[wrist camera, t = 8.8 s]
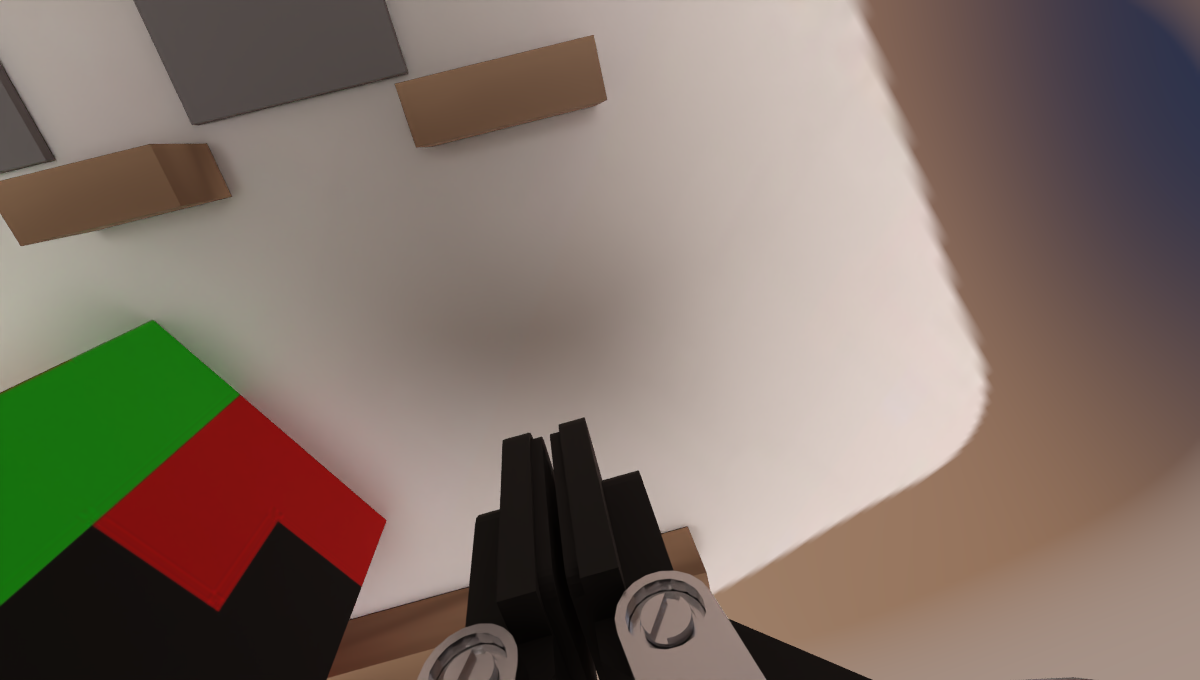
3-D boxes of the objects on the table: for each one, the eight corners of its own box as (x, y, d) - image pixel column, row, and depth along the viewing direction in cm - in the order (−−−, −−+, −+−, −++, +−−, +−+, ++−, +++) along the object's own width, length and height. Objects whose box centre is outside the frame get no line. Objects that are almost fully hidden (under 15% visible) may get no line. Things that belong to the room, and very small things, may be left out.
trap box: (-336, 277, 15) (-619, 322, 11) (584, 50, 16) (600, 22, 12) (64, 730, 22) (-32, 851, 18) (694, 555, 23) (726, 637, 19)
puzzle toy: (194, 660, 22) (-60, 1055, 12) (-61, 499, 18) (-679, 876, 9) (386, 519, 21) (267, 836, 11) (154, 319, 17) (-297, 534, 8)
